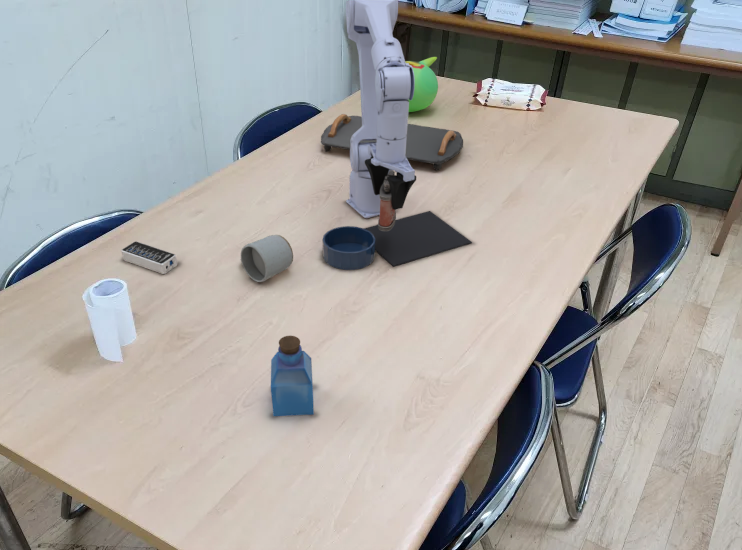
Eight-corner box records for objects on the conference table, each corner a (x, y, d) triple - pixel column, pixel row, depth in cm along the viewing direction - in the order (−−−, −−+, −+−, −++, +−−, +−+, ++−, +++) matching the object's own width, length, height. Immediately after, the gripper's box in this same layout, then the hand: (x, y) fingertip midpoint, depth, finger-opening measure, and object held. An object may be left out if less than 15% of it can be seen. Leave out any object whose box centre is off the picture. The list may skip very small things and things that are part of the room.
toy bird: (374, 116, 194) (376, 65, 184) (381, 98, 206) (383, 48, 197) (433, 121, 192) (438, 69, 182) (437, 102, 204) (442, 52, 195)
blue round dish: (314, 250, 136) (313, 233, 133) (358, 238, 140) (358, 221, 137) (338, 275, 129) (338, 257, 126) (384, 261, 133) (385, 244, 130)
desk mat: (354, 232, 142) (354, 230, 141) (429, 212, 149) (429, 210, 149) (393, 266, 131) (393, 265, 131) (471, 243, 139) (471, 241, 139)
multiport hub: (137, 250, 134) (135, 240, 133) (178, 264, 131) (176, 254, 129) (122, 260, 132) (120, 250, 130) (164, 274, 128) (161, 264, 126)
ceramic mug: (297, 271, 129) (295, 237, 124) (267, 288, 125) (264, 253, 120) (261, 253, 135) (257, 220, 129) (231, 269, 130) (226, 235, 125)
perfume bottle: (274, 388, 103) (268, 330, 95) (312, 387, 104) (310, 328, 96) (273, 416, 99) (267, 356, 91) (313, 414, 99) (311, 355, 91)
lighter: (391, 232, 131) (394, 185, 124) (375, 229, 131) (377, 184, 125) (398, 213, 137) (401, 168, 130) (382, 211, 137) (384, 166, 130)
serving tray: (469, 143, 180) (472, 120, 176) (449, 176, 164) (451, 152, 160) (341, 123, 190) (341, 101, 186) (310, 152, 174) (309, 129, 170)
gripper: (354, 125, 125) (353, 190, 134) (393, 152, 116) (390, 220, 125) (385, 119, 128) (382, 183, 137) (426, 145, 118) (420, 212, 127)
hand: (388, 200), depth 131 cm, fingers closed on lighter, 6 cm apart
